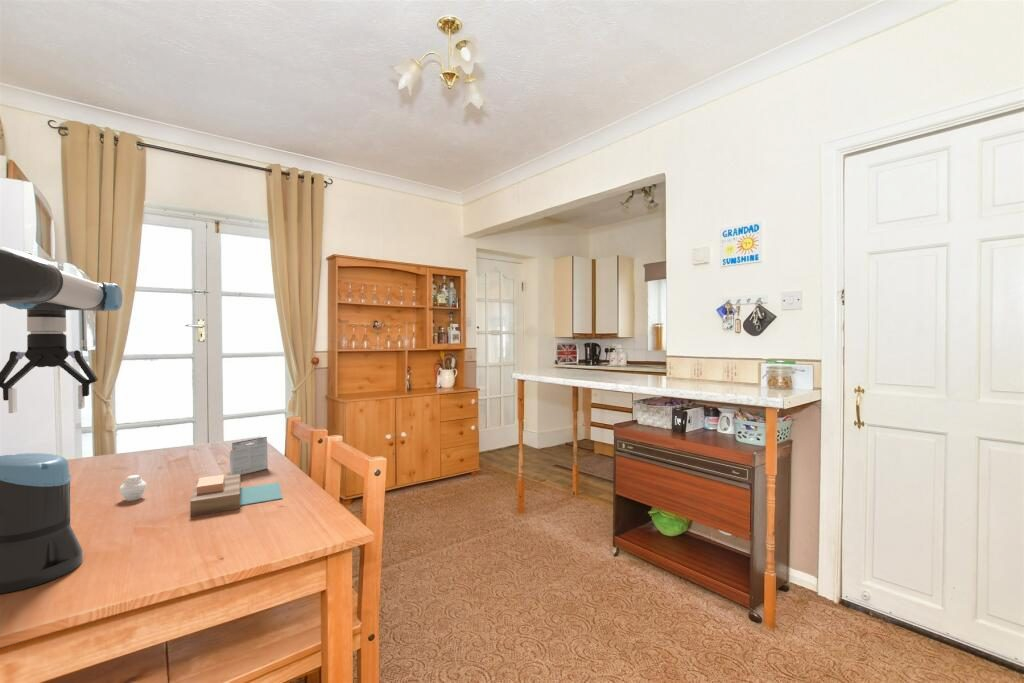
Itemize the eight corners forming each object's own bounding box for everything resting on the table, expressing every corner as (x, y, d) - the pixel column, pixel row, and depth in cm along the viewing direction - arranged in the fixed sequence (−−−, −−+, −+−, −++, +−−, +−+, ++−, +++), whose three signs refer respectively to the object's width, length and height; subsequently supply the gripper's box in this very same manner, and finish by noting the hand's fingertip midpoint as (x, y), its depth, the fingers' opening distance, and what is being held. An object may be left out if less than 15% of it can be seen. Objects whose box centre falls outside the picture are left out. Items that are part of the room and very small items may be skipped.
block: (223, 490, 126) (222, 483, 126) (196, 494, 123) (196, 486, 123) (224, 481, 134) (224, 474, 134) (199, 484, 131) (199, 477, 131)
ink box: (265, 468, 161) (265, 435, 161) (268, 469, 159) (268, 436, 159) (229, 475, 152) (228, 441, 152) (231, 477, 150) (231, 442, 150)
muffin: (123, 497, 132) (122, 473, 132) (149, 493, 135) (149, 470, 134) (116, 504, 126) (116, 479, 126) (144, 500, 129) (143, 476, 129)
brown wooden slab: (239, 508, 123) (239, 493, 123) (190, 516, 118) (190, 501, 118) (240, 487, 140) (240, 474, 140) (197, 493, 135) (197, 480, 135)
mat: (282, 498, 130) (282, 497, 130) (237, 506, 125) (237, 505, 125) (278, 483, 144) (278, 482, 144) (238, 489, 138) (238, 488, 138)
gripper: (110, 333, 134) (110, 404, 134) (-13, 333, 121) (-12, 412, 121) (104, 333, 128) (104, 408, 128) (-27, 332, 114) (-26, 416, 115)
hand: (48, 410), depth 124 cm, fingers open, 13 cm apart
